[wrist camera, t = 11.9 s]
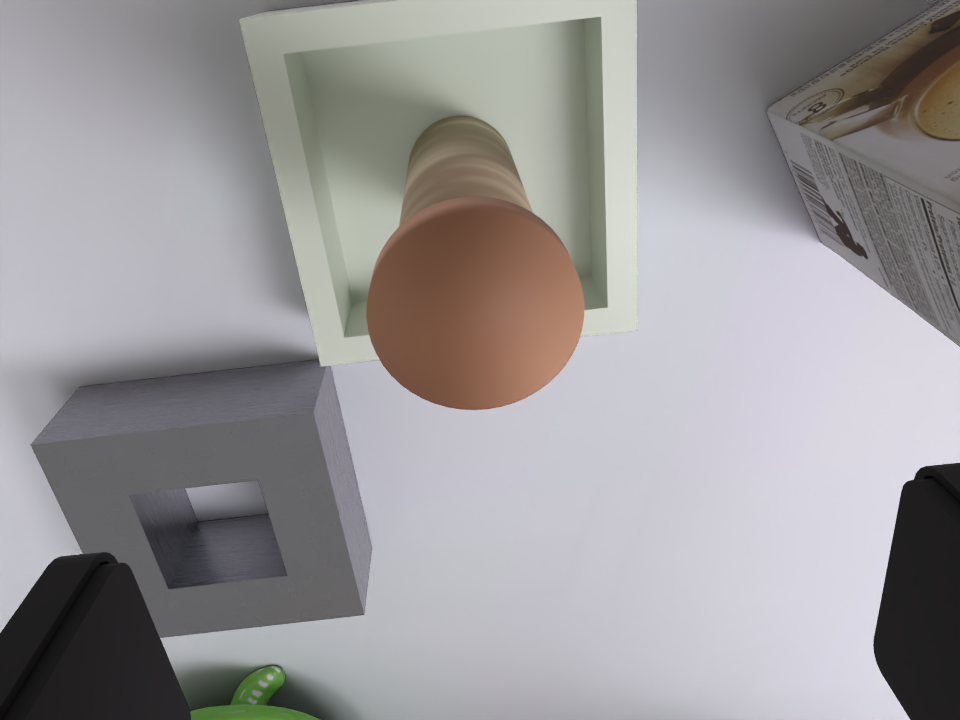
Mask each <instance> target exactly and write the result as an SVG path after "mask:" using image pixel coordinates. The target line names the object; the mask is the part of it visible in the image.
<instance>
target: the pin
mask: <svg viewBox="0 0 960 720" xmlns="http://www.w3.org/2000/svg"><path fill="white" fill-rule="evenodd" d="M366 318H367V326H368V332H369V336H370V339H371V343H372V345H373V347H374V350H375V352H376V354H377V356H378V358H379V359H380V361H381V363H382V364H383V366H384V367H385V368H386V369H387V371H388V372H389V373H390V374H391V376H392V377H394V378H395V379H396V380H397V381H398V382H399V383H400V384H401V385H402V386H404V387H405V388H406V389H408V390H409V391H411V392H412V393H414V394H416V395H417V396H419V397H421V398H423V399H425V400H428V401H430V402H432V403H435V404H438V405H442V406H445V407H450V408H456V409H466V410H481V409H491V408H496V407H501V406H505V405H508V404H512V403H515V402H517V401H519V400H522V399H524V398H526V397H528V396H530V395H532V394H533V393H535V392H537V391H538V390H540V389H541V388H542V387H544V386H545V385H547V384H548V383H549V382H550V381H551V380H552V379H553V378H554V377H555V376H557V375H558V373H559V372H560V371H561V370H562V369H563V367H564V366H565V365H566V363H567V362H568V360H569V359H570V357H571V356H572V354H573V352H574V350H575V348H576V346H577V344H578V341H579V338H580V335H581V332H582V327H583V321H584V296H583V290H582V286H581V282H580V279H579V276H578V274H577V272H576V269H575V267H574V265H573V263H572V260H571V258H570V256H569V254H568V251H567V249H566V247H565V246H564V244H563V243H562V241H561V239H560V238H559V237H558V235H557V234H556V233H555V232H554V230H553V229H552V228H551V227H550V226H549V225H548V224H547V223H545V222H544V221H543V220H542V219H541V218H540V217H538V216H537V215H535V214H534V213H533V211H532V208H531V206H530V203H529V200H528V198H527V195H526V192H525V190H524V187H523V184H522V181H521V179H520V176H519V173H518V171H517V168H516V165H515V163H514V160H513V157H512V155H511V152H510V149H509V147H508V145H507V143H506V141H505V140H504V138H503V137H502V135H501V134H500V133H499V132H498V131H497V130H496V129H495V128H494V127H492V126H491V125H490V124H488V123H486V122H485V121H483V120H480V119H478V118H474V117H470V116H452V117H447V118H444V119H441V120H439V121H437V122H435V123H433V124H432V125H430V126H429V127H428V128H426V129H425V130H424V131H423V132H422V133H421V135H420V136H419V137H418V139H417V140H416V142H415V144H414V146H413V148H412V151H411V154H410V158H409V164H408V170H407V177H406V184H405V190H404V197H403V203H402V210H401V217H400V223H399V227H398V228H397V230H396V231H395V232H394V233H393V234H392V235H391V236H390V238H389V239H388V241H387V242H386V244H385V245H384V247H383V248H382V250H381V252H380V254H379V256H378V258H377V261H376V264H375V267H374V270H373V274H372V278H371V283H370V288H369V293H368V299H367V312H366Z"/></svg>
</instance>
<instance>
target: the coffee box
mask: <svg viewBox="0 0 960 720" xmlns="http://www.w3.org/2000/svg"><path fill="white" fill-rule="evenodd" d="M767 115H768V117H769V120H770V122H771V124H772V127H773V129H774V132H775V134H776V136H777V139H778V141H779V144H780V146H781V148H782V151H783V153H784V156H785V158H786V160H787V163H788V165H789V168H790V170H791V172H792V175H793V177H794V179H795V182H796V184H797V187H798V189H799V191H800V194H801V196H802V198H803V201H804V203H805V206H806V208H807V210H808V213H809V215H810V217H811V219H812V222H813V224H814V226H815V229H816V231H817V234H818V236H819V238H820V241H821V242H822V244H823V245H825V246H826V247H828V248H830V249H831V250H833V251H834V252H836V253H837V254H838V255H840V256H841V257H842V258H844V259H845V260H846V261H848V262H849V263H850V264H852V265H853V266H854V267H856V268H857V269H858V270H860V271H861V272H862V273H864V274H865V275H866V276H867V277H869V278H870V279H872V280H873V281H874V282H875V283H877V284H878V285H879V286H880V287H882V288H883V289H884V290H886V291H887V292H888V293H890V294H891V295H892V296H894V297H895V298H897V299H898V300H900V301H901V302H902V303H904V304H905V305H906V306H908V307H909V308H910V309H912V310H913V311H914V312H915V313H917V314H918V315H919V316H920V317H922V318H923V319H924V320H926V321H927V322H928V323H930V324H931V325H932V326H934V327H935V328H936V329H937V330H939V331H940V332H941V333H943V334H944V335H945V336H947V337H948V338H949V339H950V340H952V341H953V342H954V343H956V344H957V345H958V346H960V0H943V1H942V2H940V3H938V4H937V5H935V6H934V7H932V8H930V9H929V10H927V11H925V12H924V13H922V14H920V15H919V16H917V17H916V18H914V19H912V20H911V21H909V22H907V23H906V24H904V25H902V26H901V27H899V28H897V29H896V30H894V31H893V32H891V33H889V34H888V35H886V36H884V37H883V38H881V39H879V40H878V41H876V42H874V43H873V44H871V45H870V46H868V47H866V48H865V49H863V50H861V51H860V52H858V53H857V54H855V55H853V56H852V57H850V58H848V59H847V60H845V61H843V62H842V63H840V64H838V65H837V66H835V67H833V68H832V69H830V70H829V71H827V72H825V73H824V74H822V75H820V76H819V77H817V78H815V79H814V80H812V81H810V82H809V83H807V84H806V85H804V86H802V87H801V88H799V89H797V90H796V91H794V92H792V93H791V94H789V95H788V96H786V97H784V98H783V99H781V100H779V101H778V102H776V103H775V104H773V105H771V106H770V107H768V109H767Z"/></svg>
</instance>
